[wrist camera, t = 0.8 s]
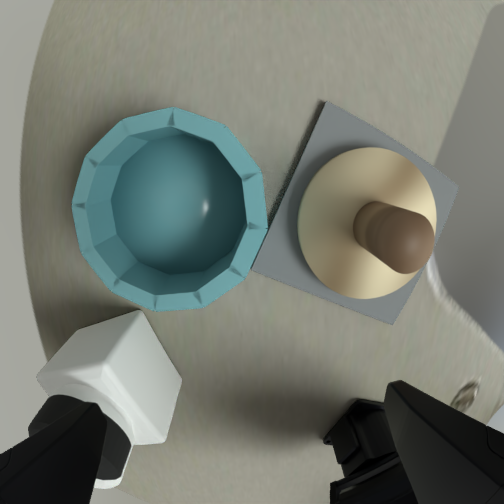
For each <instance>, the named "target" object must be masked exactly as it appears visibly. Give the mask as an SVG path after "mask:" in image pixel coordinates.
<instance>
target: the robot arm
mask: <svg viewBox="0 0 504 504" xmlns="http://www.w3.org/2000/svg"><path fill="white" fill-rule="evenodd" d="M107 426H108V423H107V419H106V417H105V416H104V414H103V412H102V410H101V408H100V406H99V405H98V404H97V403H95V402H88V401H87V402H84V403H83V404H81V405H79V406H78V407H76V408H75V409H73V410H72V411H70V412H69V413H67V414H65V415H64V416H62V417H61V418H59V419H58V420H56V421H54V422H53V423H51V424H50V425H48V426H46V427H45V428H43V429H42V430H40V431H38V432H37V433H35V434H33V435H32V436H30V437H28V438H27V439H25V440H24V441H22V442H20V443H19V444H17V445H15V446H14V447H13V448H10V449H9V450H7V451H5V452H4V453H2V454H0V504H89V503H90V499H91V495H92V492H93V488H94V484H95V481H96V477H97V474H98V470H99V467H100V463H101V458H102V453H103V447H104V442H105V437H106V431H107ZM323 442H324V444H326V445H333V448H334V452H335V455H336V459H337V462H338V464H341V467H342V470H343V474H344V477H345V478H343V479H341V480H338V481H334V482H332V483H330V504H504V434H503V433H501V432H500V431H497V430H495V429H493V428H491V427H489V426H486V425H485V424H483V423H481V422H479V421H477V420H475V419H473V418H471V417H469V416H467V415H466V414H464V413H462V412H460V411H458V410H456V409H454V408H452V407H450V406H448V405H446V404H445V403H443V402H441V401H439V400H437V399H435V398H433V397H432V396H430V395H428V394H426V393H424V392H422V391H420V390H419V389H417V388H415V387H413V386H411V385H410V384H408V383H406V382H404V381H402V380H398V381H394V382H390V383H389V384H388V385H387V389H386V394H385V399H384V403H378V402H372V401H367V400H357V401H356V402H355V403H354V404H353V405H352V406H351V408H350V409H349V410H348V411H347V412H346V414H345V415H344V416H343V417H342V418H341V419H340V421H339V422H338V423H337V424H336V425H335V426H334V427H333V429H332V430H331V431H330V432H329V433H328V434H327V435H326V436H325V437H324V439H323Z"/></svg>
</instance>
